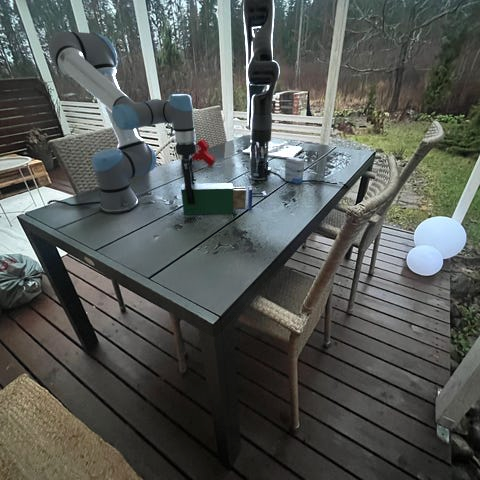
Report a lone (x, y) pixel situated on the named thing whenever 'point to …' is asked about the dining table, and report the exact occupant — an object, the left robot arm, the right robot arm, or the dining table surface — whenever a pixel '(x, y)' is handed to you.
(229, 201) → the cabinet
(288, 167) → the ink box
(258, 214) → the dining table surface
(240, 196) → the drawer
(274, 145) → the relief map
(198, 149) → the toy gun
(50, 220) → the dining table surface
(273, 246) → the dining table surface
